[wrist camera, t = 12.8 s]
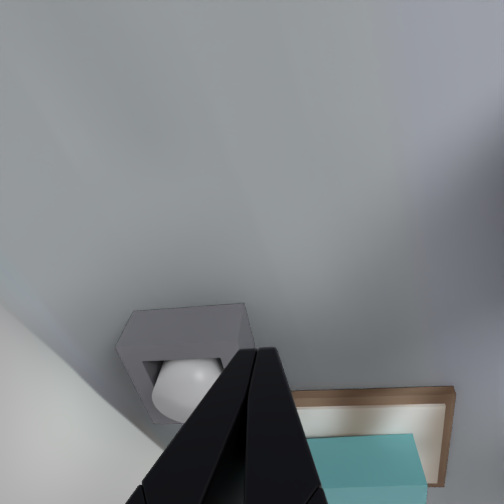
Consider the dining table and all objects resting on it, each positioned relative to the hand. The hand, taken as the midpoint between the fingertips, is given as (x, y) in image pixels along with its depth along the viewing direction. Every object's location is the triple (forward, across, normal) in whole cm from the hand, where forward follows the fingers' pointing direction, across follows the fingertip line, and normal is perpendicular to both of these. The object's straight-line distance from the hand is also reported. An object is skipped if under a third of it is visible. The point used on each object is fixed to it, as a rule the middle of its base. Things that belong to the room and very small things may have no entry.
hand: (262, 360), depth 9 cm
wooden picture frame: (+12, -1, +22) cm, 25 cm away
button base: (+12, +7, +12) cm, 18 cm away
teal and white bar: (+11, -1, +22) cm, 24 cm away
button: (+11, +7, +12) cm, 17 cm away
